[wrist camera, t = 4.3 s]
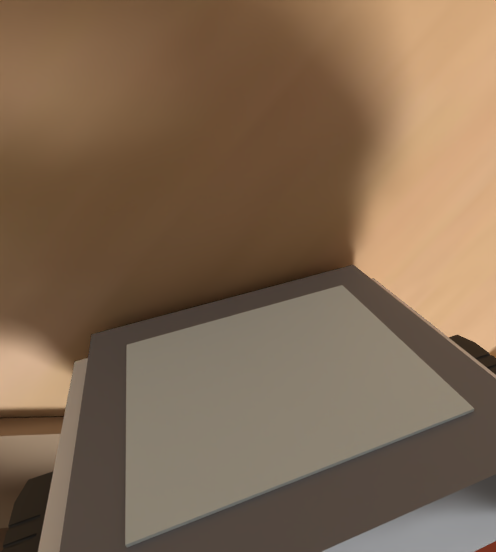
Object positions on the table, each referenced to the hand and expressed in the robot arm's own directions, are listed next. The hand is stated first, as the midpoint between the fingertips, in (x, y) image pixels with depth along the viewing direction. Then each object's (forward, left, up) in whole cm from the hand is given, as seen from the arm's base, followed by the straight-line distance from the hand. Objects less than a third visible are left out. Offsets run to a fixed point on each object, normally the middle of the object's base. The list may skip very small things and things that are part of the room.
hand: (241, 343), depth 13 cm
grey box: (0, 0, 0) cm, 0 cm away
